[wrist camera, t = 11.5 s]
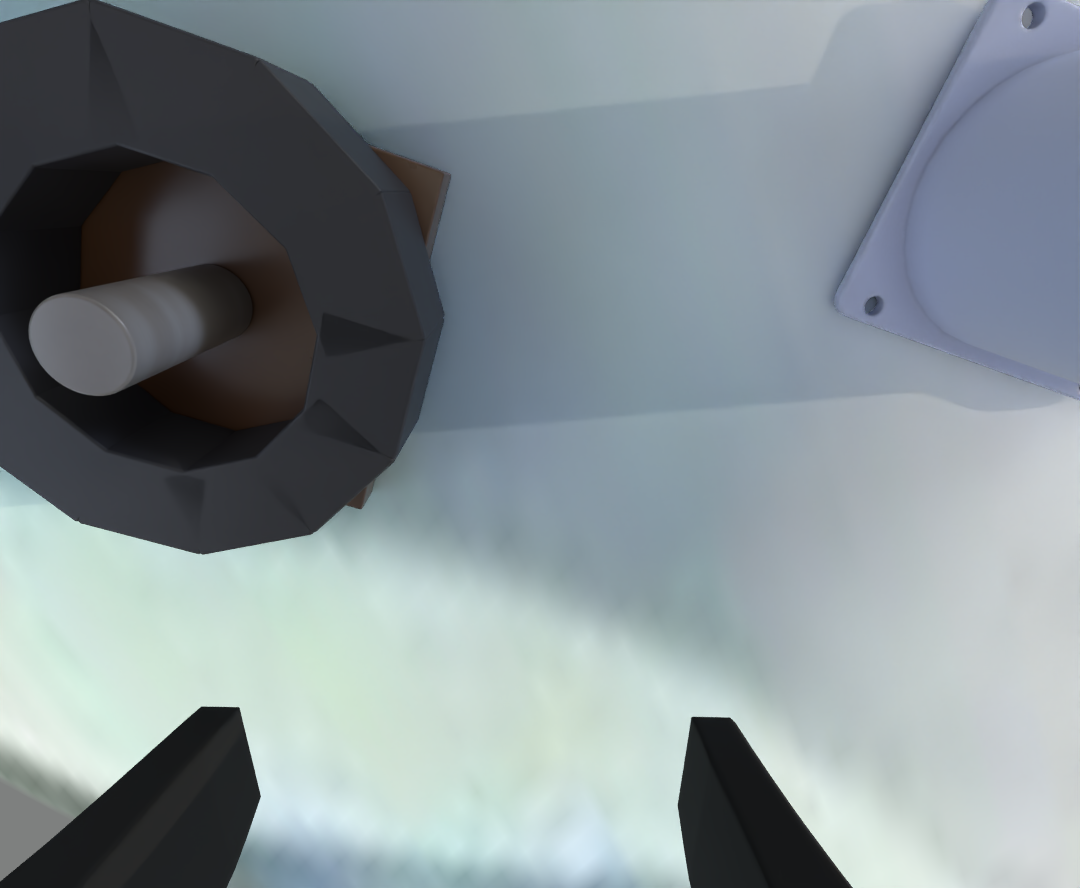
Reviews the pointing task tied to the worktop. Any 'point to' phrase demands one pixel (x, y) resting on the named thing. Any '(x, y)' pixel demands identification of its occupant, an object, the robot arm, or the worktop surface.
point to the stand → (194, 300)
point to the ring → (277, 204)
